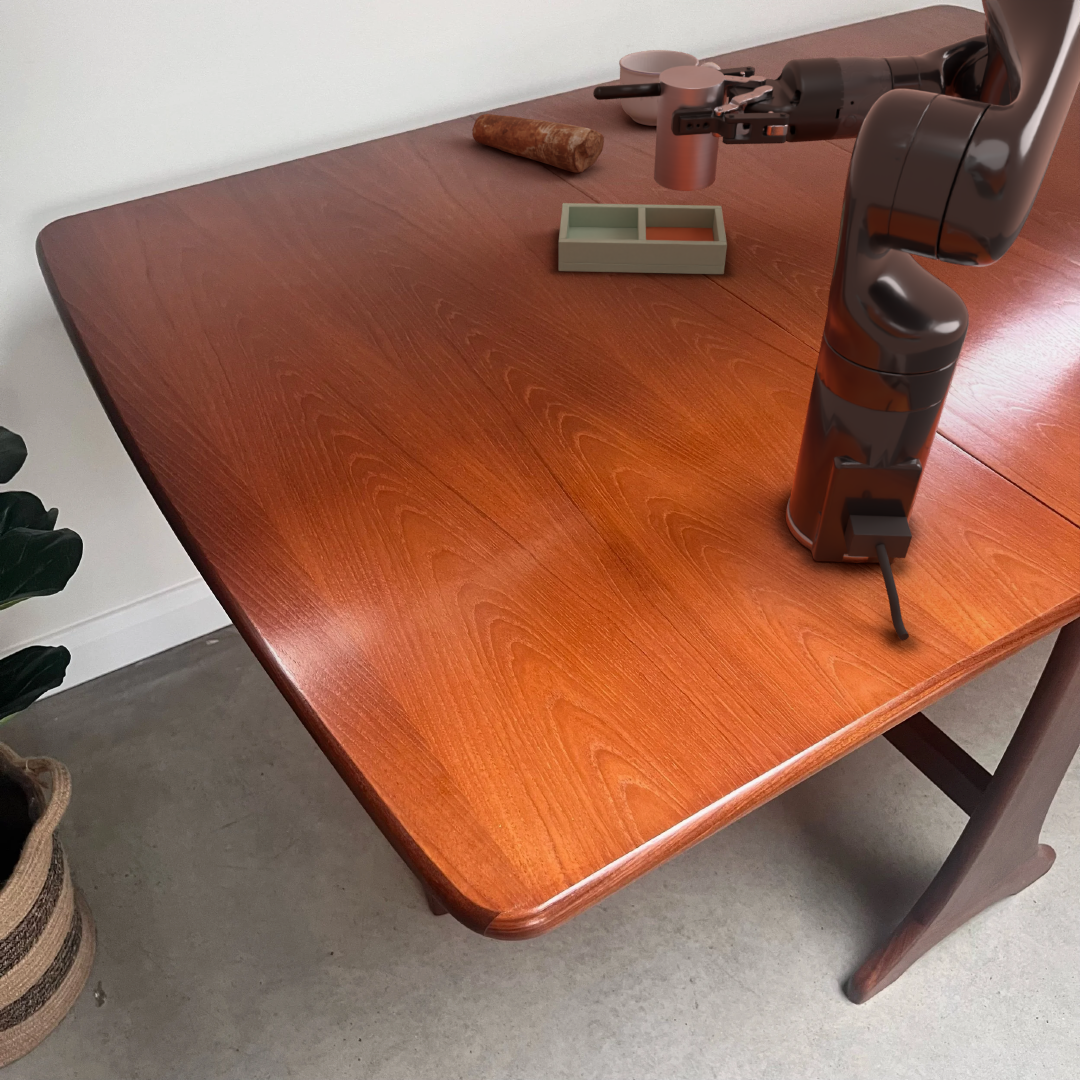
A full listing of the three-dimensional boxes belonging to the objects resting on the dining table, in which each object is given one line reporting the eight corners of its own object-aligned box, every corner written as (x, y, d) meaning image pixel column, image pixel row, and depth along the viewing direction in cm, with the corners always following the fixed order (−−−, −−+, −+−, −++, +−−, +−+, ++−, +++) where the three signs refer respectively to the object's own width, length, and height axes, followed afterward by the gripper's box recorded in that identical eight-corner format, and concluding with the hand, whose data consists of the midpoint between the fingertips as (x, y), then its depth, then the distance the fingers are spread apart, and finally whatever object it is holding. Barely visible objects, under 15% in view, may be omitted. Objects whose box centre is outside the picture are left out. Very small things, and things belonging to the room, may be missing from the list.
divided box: (723, 274, 113) (727, 244, 111) (558, 271, 114) (558, 241, 112) (718, 234, 120) (721, 205, 118) (562, 231, 121) (562, 202, 119)
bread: (579, 183, 131) (580, 139, 127) (465, 147, 139) (462, 105, 135) (608, 166, 134) (610, 123, 130) (495, 132, 143) (493, 90, 139)
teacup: (608, 129, 143) (611, 68, 138) (627, 100, 151) (629, 42, 145) (709, 139, 140) (715, 78, 135) (722, 110, 148) (729, 51, 142)
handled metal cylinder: (707, 163, 109) (716, 63, 102) (721, 189, 104) (731, 86, 97) (587, 171, 108) (588, 71, 101) (596, 197, 103) (598, 94, 96)
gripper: (817, 34, 105) (653, 44, 104) (865, 86, 94) (683, 97, 93) (805, 110, 110) (649, 120, 109) (849, 166, 100) (677, 178, 99)
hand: (665, 109), depth 101 cm, fingers closed on handled metal cylinder, 6 cm apart
